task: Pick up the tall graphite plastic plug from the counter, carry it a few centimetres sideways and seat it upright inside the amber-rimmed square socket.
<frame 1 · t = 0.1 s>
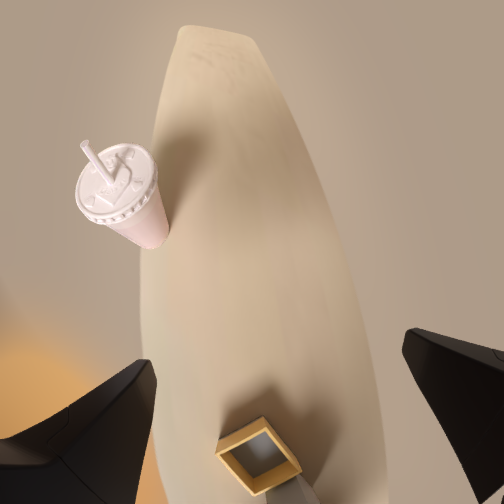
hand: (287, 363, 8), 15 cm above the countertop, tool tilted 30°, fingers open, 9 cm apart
socket block: (257, 449, 19), on the countertop
smoothie: (152, 231, 26), on the countertop
plug: (288, 484, 18), on the countertop
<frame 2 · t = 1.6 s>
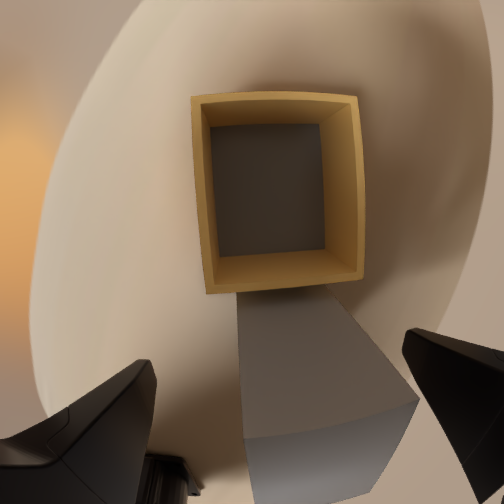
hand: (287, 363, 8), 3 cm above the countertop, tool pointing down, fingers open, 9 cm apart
socket block: (268, 188, 10), on the countertop
plug: (274, 314, 12), on the countertop
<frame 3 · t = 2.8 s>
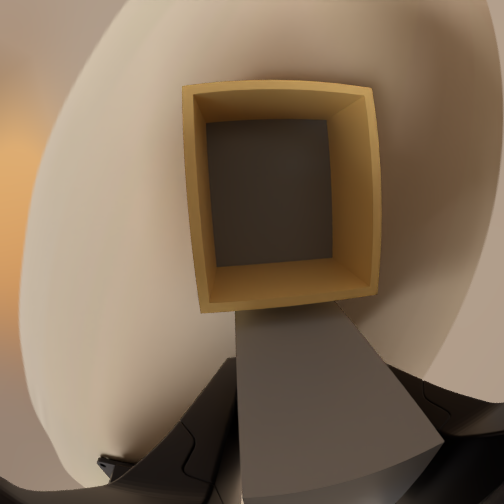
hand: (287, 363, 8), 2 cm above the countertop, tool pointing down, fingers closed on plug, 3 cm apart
socket block: (270, 190, 9), on the countertop
plug: (276, 327, 11), on the countertop, touching gripper
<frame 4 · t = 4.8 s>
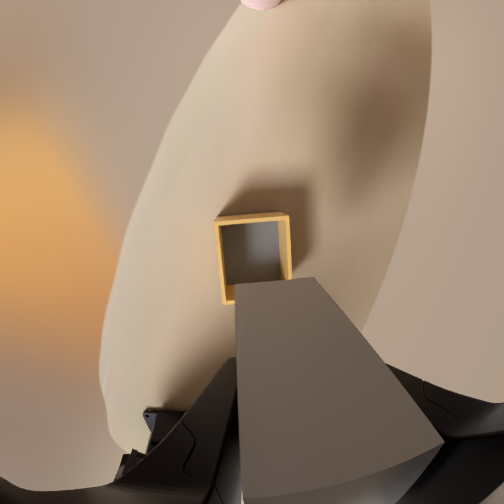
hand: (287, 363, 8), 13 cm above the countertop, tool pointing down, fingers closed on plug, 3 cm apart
socket block: (251, 249, 20), on the countertop
plug: (276, 327, 11), point 10 cm above the countertop, touching gripper
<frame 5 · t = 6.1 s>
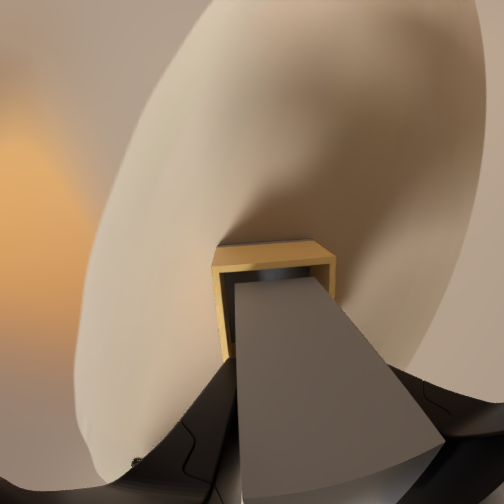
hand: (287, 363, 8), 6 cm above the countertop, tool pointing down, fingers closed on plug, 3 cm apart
socket block: (267, 294, 14), on the countertop
plug: (276, 327, 11), point 3 cm above the countertop, touching gripper
when the fingers open (4 cm above the countertop, at t = 7.0 s): plug drops 1 cm, resting on socket block.
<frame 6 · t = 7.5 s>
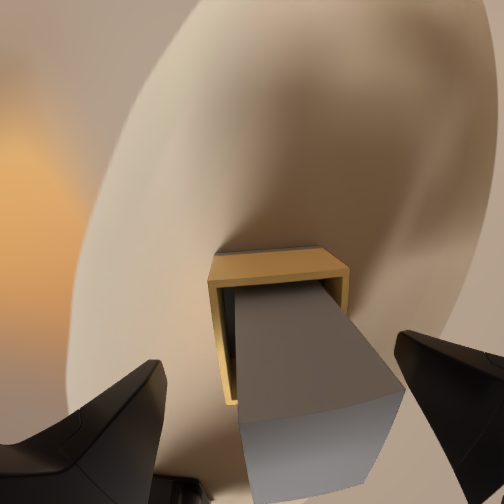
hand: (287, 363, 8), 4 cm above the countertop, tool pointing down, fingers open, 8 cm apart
socket block: (270, 306, 12), on the countertop
plug: (271, 311, 12), resting on socket block
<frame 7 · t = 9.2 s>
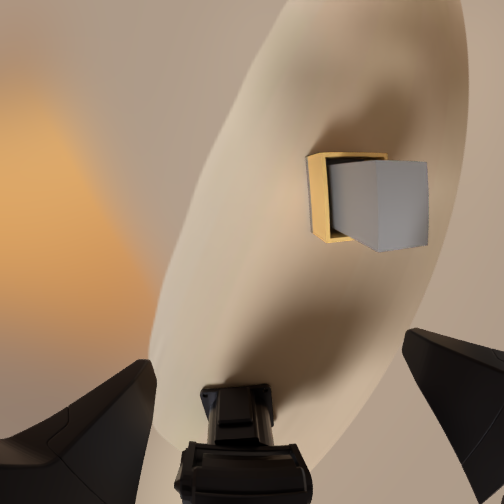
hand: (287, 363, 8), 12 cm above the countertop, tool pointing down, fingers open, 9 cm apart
socket block: (338, 192, 19), on the countertop
plug: (341, 193, 18), resting on socket block
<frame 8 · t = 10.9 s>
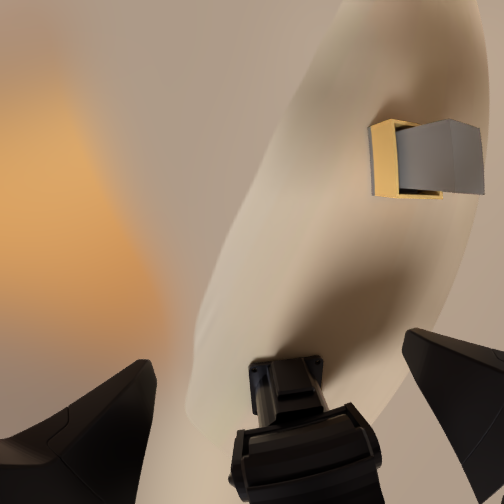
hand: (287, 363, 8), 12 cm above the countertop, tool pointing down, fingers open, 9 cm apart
socket block: (394, 162, 19), on the countertop
plug: (397, 162, 18), resting on socket block
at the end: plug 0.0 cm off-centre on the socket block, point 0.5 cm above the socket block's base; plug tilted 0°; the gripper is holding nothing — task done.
